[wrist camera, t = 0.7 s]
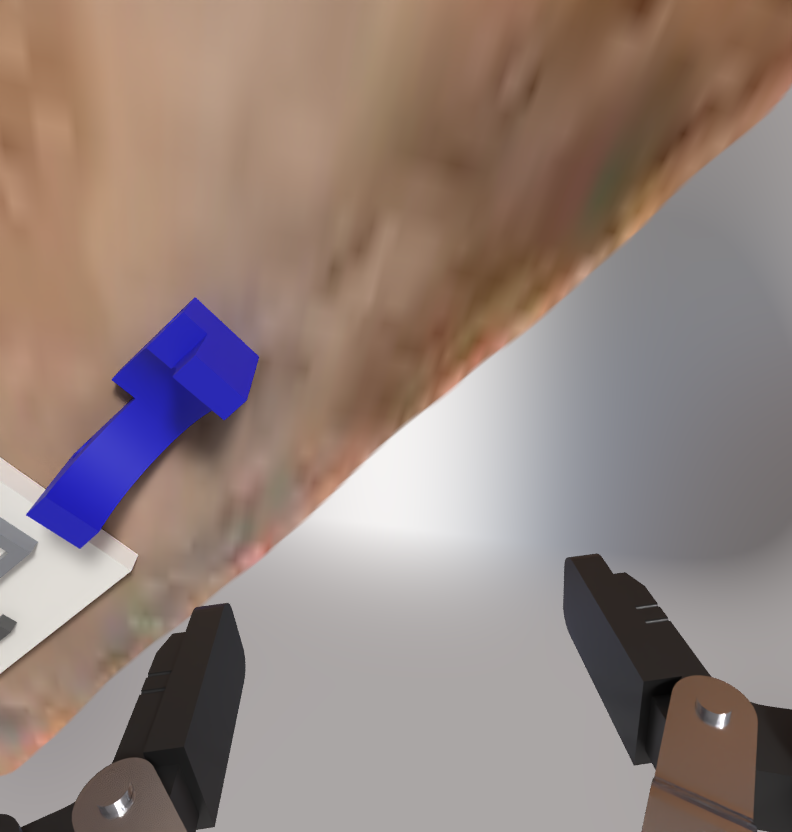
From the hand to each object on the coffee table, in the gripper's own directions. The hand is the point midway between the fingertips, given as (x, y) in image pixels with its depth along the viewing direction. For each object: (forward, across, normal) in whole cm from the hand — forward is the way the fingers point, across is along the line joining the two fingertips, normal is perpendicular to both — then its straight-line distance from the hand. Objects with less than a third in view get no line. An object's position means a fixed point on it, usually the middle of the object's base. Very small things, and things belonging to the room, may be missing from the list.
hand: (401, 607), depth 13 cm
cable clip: (+20, +12, +1) cm, 23 cm away
